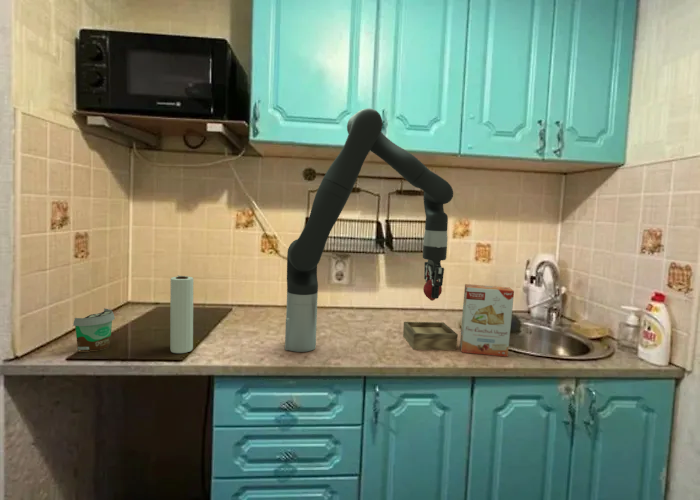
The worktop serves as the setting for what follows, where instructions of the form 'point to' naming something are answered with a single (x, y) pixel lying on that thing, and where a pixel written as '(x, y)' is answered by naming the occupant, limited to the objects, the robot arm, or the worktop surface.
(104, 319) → the food container
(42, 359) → the worktop surface
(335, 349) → the worktop surface
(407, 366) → the worktop surface
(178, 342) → the paper towel roll
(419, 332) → the tray
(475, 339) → the cracker box
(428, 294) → the onion
